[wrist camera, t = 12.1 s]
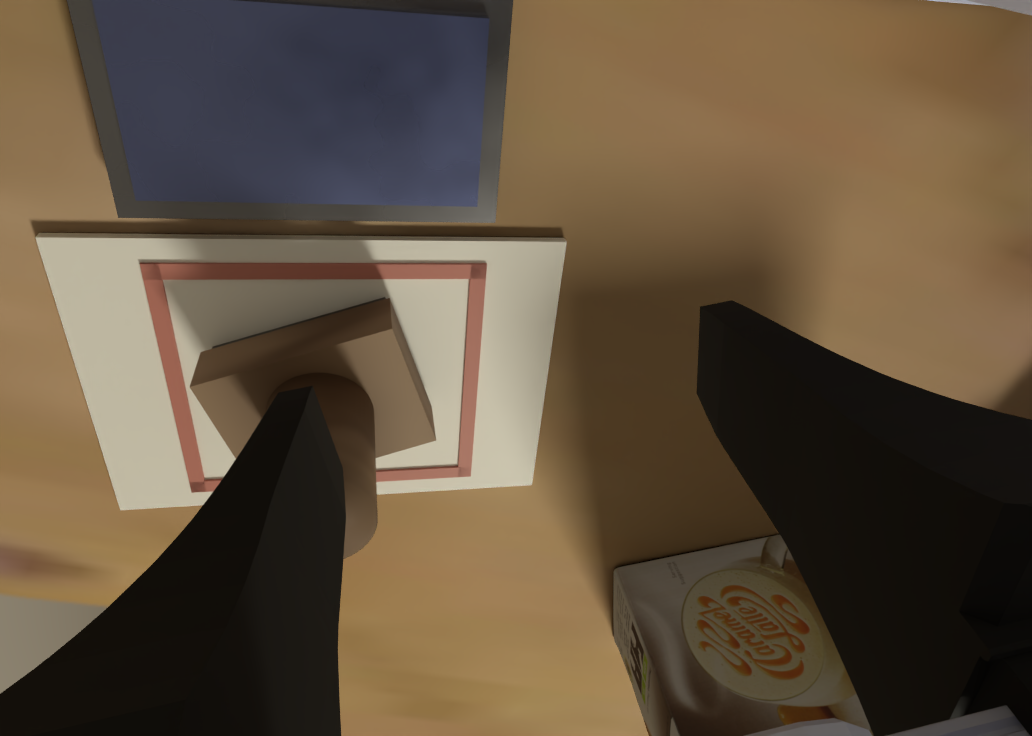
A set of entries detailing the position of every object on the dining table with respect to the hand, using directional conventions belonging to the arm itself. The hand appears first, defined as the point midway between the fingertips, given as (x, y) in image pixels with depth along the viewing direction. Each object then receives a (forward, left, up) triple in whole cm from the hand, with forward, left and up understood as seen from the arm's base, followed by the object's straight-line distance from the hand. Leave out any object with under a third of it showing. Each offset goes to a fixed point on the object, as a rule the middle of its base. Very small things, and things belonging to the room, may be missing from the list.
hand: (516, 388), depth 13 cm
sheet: (+4, +7, -10) cm, 13 cm away
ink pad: (+4, -2, -10) cm, 11 cm away
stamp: (+4, +6, -10) cm, 12 cm away
